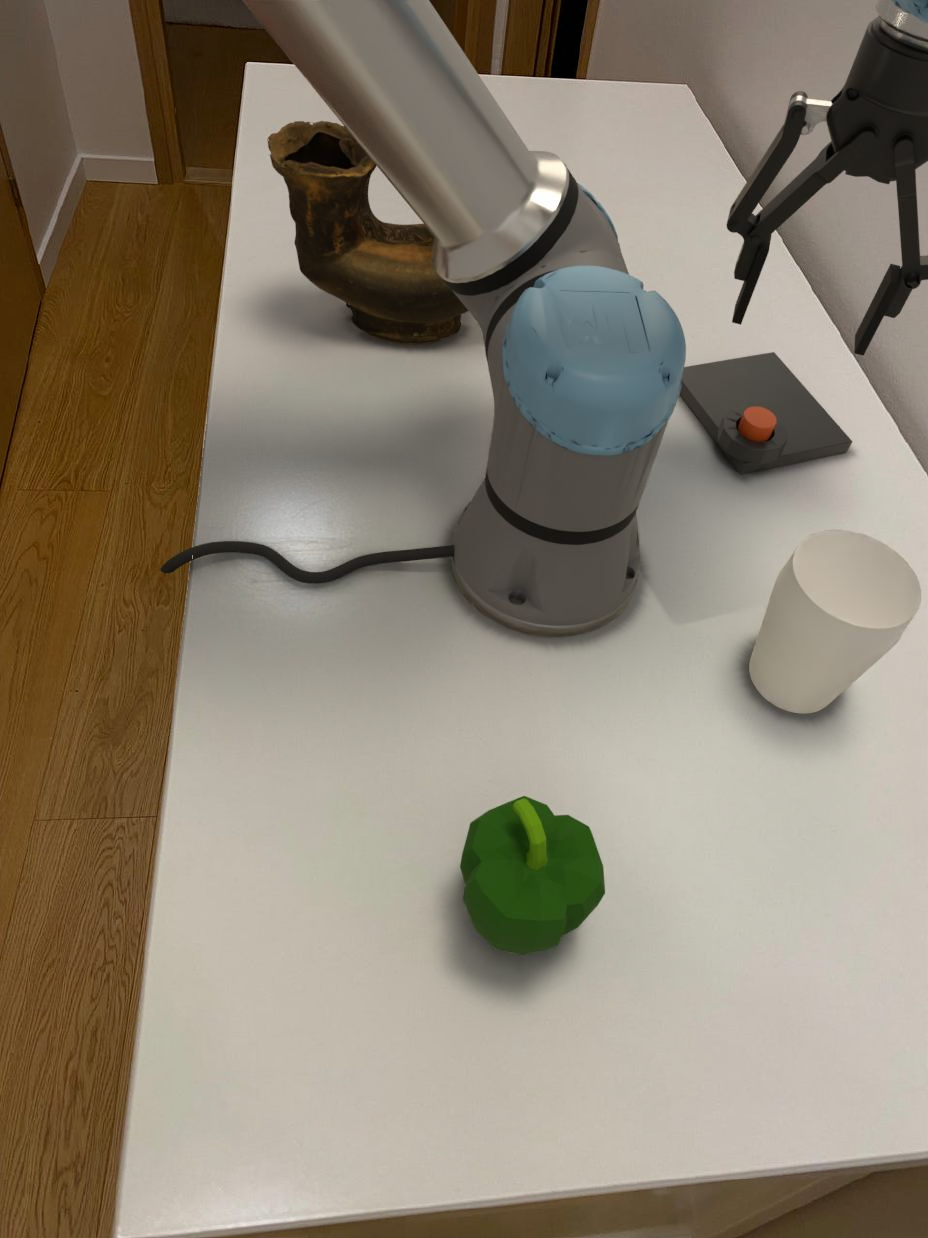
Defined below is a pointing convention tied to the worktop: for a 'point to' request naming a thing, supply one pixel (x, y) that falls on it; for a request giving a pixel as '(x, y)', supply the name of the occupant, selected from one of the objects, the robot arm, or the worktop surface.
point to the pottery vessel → (360, 239)
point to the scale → (770, 385)
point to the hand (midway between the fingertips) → (798, 329)
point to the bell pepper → (529, 876)
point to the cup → (831, 618)
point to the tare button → (757, 424)
